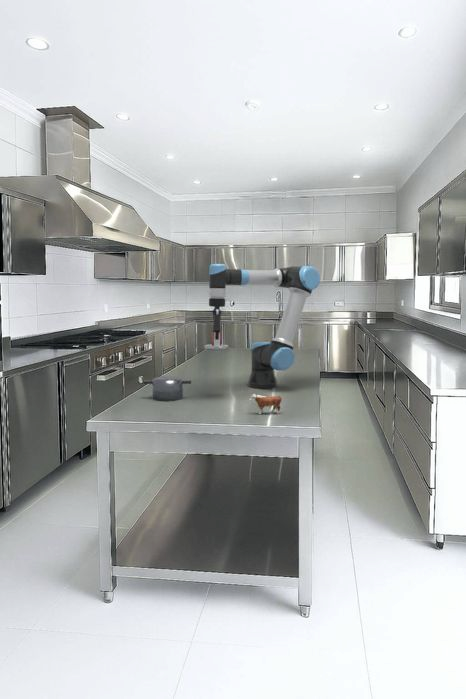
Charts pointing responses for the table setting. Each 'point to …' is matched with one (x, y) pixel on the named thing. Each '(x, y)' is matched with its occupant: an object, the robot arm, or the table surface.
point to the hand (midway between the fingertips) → (216, 345)
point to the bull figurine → (266, 402)
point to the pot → (167, 388)
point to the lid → (211, 347)
